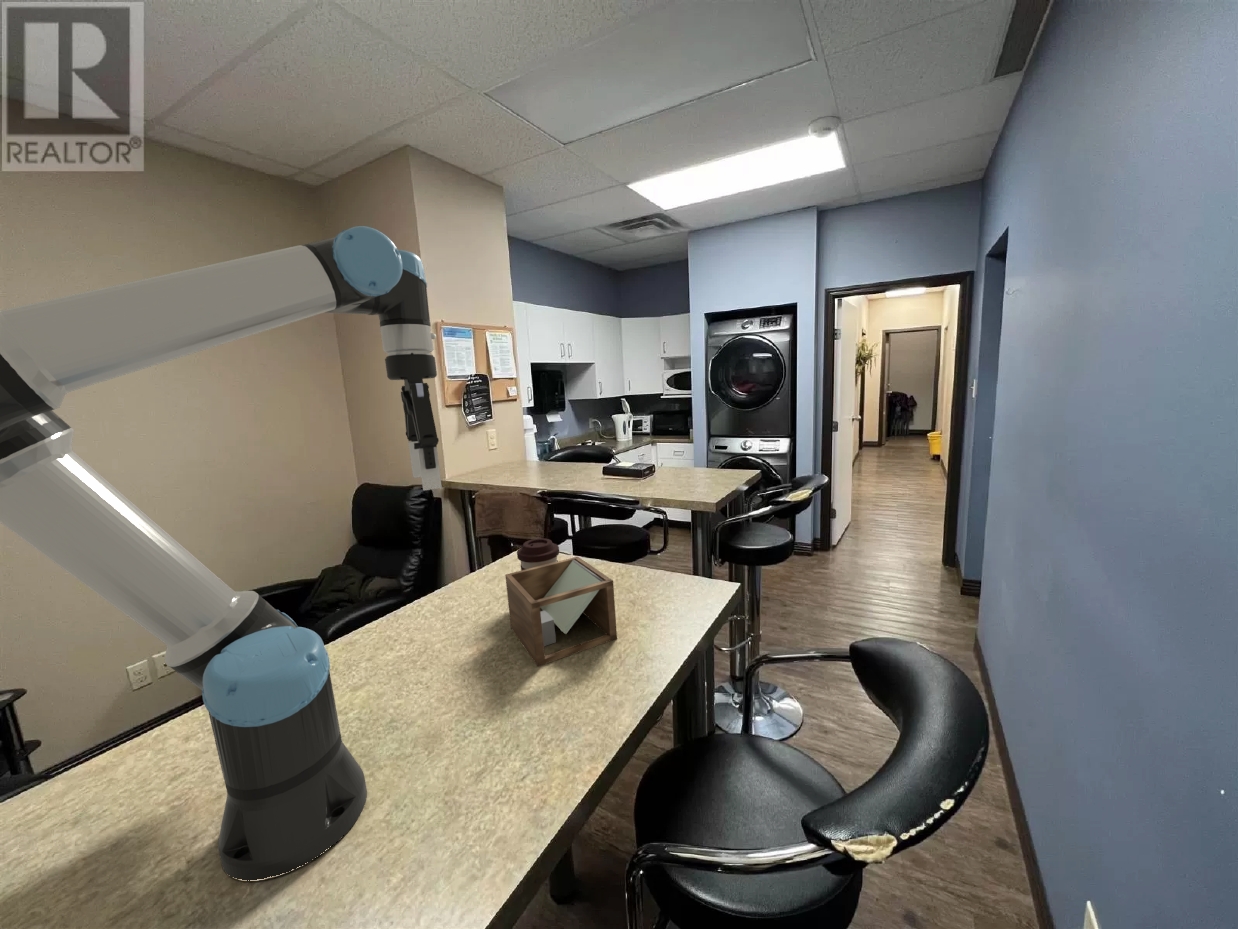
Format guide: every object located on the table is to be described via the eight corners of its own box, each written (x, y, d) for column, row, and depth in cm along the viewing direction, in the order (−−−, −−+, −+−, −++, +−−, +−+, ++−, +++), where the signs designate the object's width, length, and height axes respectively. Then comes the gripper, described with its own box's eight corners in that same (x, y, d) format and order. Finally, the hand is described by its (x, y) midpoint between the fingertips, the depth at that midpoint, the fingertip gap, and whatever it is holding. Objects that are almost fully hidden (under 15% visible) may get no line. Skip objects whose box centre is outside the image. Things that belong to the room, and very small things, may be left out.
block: (556, 642, 98) (532, 650, 95) (547, 632, 102) (524, 639, 99) (553, 619, 97) (530, 627, 94) (544, 610, 101) (522, 617, 99)
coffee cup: (571, 597, 118) (566, 538, 115) (544, 614, 110) (539, 552, 107) (541, 589, 123) (535, 534, 121) (513, 606, 115) (507, 546, 113)
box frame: (537, 666, 90) (531, 604, 87) (511, 628, 104) (505, 574, 102) (617, 638, 98) (613, 580, 95) (581, 607, 112) (577, 556, 110)
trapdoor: (566, 634, 93) (562, 632, 93) (540, 607, 106) (537, 604, 105) (605, 582, 96) (602, 579, 96) (576, 561, 109) (573, 558, 108)
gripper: (447, 346, 69) (464, 490, 72) (424, 359, 90) (437, 469, 94) (390, 347, 65) (410, 499, 69) (379, 360, 87) (396, 475, 90)
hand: (426, 482), depth 81 cm, fingers open, 13 cm apart
